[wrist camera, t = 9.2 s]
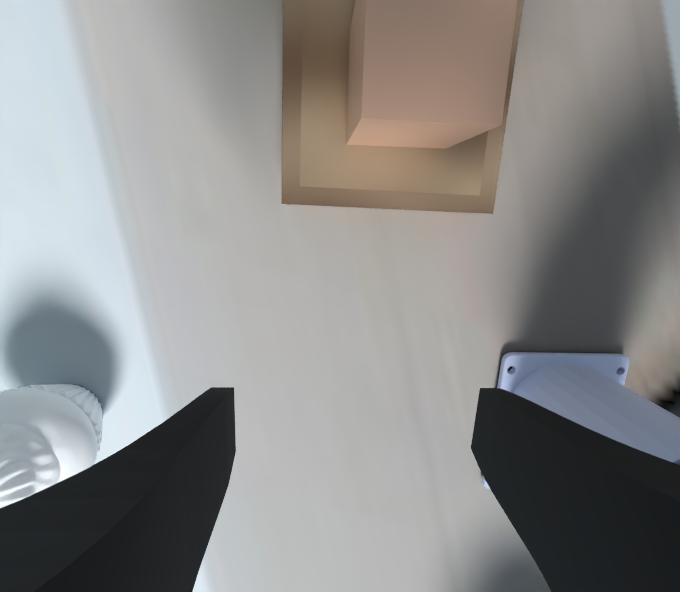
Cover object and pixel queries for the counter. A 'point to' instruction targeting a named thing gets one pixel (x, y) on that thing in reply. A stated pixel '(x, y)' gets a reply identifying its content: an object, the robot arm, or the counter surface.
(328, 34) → the tan brown tray
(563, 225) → the counter surface
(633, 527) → the robot arm
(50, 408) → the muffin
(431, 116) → the peach tan block
